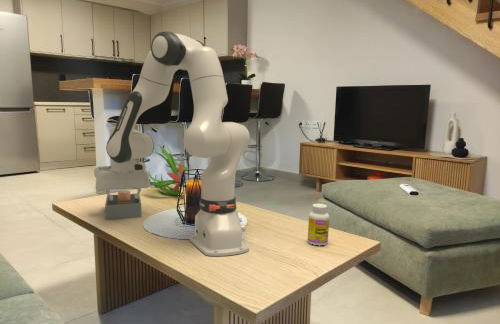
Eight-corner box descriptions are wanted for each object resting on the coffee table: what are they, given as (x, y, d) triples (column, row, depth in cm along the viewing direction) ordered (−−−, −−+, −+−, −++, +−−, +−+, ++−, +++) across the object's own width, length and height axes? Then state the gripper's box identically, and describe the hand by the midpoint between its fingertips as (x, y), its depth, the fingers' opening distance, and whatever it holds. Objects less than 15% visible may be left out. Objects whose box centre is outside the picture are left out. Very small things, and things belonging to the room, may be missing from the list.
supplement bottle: (312, 247, 118) (314, 208, 116) (304, 240, 125) (306, 203, 123) (331, 245, 120) (333, 207, 118) (322, 238, 126) (324, 202, 124)
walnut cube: (130, 214, 146) (130, 202, 145) (117, 215, 144) (116, 203, 144) (130, 211, 151) (130, 199, 150) (117, 212, 149) (117, 200, 148)
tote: (141, 217, 145) (141, 203, 144) (105, 219, 141) (105, 205, 140) (139, 205, 161) (139, 193, 161) (107, 207, 157) (107, 195, 156)
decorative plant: (173, 214, 168) (137, 200, 187) (213, 194, 185) (176, 183, 205) (164, 160, 160) (127, 151, 179) (206, 145, 177) (169, 138, 196)
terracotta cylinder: (131, 208, 154) (132, 192, 153) (119, 210, 151) (120, 193, 150) (127, 206, 158) (128, 190, 157) (116, 207, 155) (116, 191, 154)
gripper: (93, 167, 138) (95, 203, 140) (149, 165, 145) (150, 199, 146) (94, 165, 144) (96, 199, 146) (148, 163, 150) (149, 196, 152)
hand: (124, 199), depth 146 cm, fingers open, 8 cm apart
